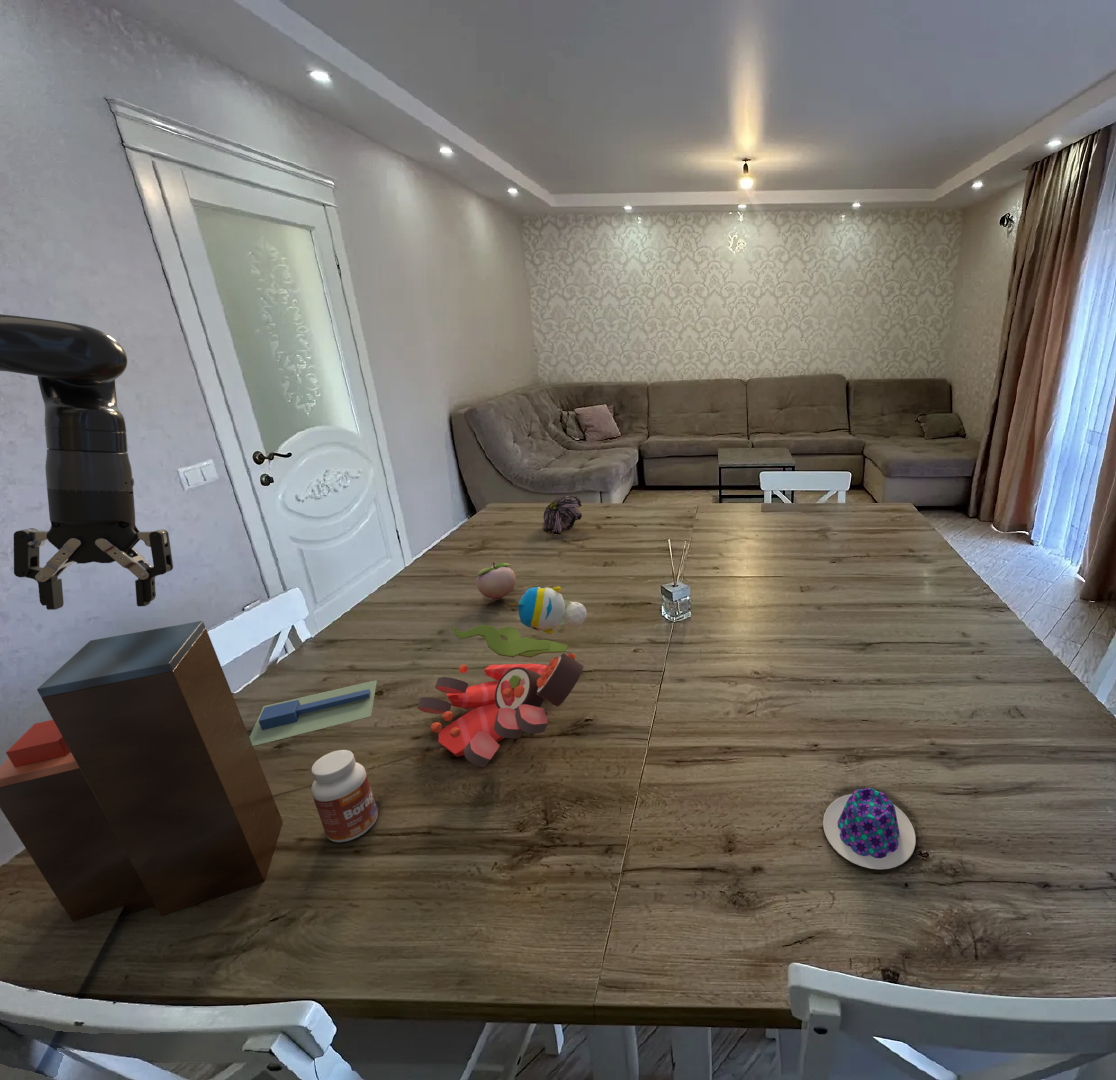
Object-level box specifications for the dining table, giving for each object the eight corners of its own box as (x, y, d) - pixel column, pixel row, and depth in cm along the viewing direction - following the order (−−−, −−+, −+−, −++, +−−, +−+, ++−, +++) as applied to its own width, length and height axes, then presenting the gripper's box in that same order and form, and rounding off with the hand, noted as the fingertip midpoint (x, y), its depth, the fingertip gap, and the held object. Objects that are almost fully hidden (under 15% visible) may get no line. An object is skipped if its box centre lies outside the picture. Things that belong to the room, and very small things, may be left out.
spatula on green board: (244, 750, 92) (244, 748, 92) (264, 707, 102) (263, 706, 102) (371, 718, 99) (370, 716, 99) (377, 681, 109) (376, 679, 109)
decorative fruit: (495, 611, 135) (489, 573, 131) (474, 603, 139) (466, 566, 135) (526, 595, 142) (521, 559, 139) (505, 588, 146) (499, 553, 143)
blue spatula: (267, 716, 99) (264, 707, 98) (371, 691, 105) (369, 682, 104) (261, 730, 96) (258, 720, 95) (369, 704, 102) (367, 694, 101)
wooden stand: (67, 947, 63) (-86, 713, 51) (111, 873, 71) (-12, 658, 60) (264, 881, 70) (169, 663, 58) (283, 821, 78) (203, 620, 67)
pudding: (832, 788, 83) (834, 759, 81) (917, 811, 78) (922, 782, 77) (814, 855, 72) (816, 825, 70) (911, 886, 68) (916, 855, 66)
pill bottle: (356, 847, 74) (334, 782, 70) (315, 841, 75) (291, 777, 71) (389, 809, 80) (370, 747, 76) (350, 804, 81) (330, 743, 77)
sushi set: (585, 776, 87) (409, 774, 75) (542, 739, 112) (406, 733, 101) (615, 592, 92) (456, 565, 81) (568, 598, 118) (442, 577, 107)
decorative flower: (528, 499, 186) (570, 481, 190) (540, 525, 194) (580, 507, 198) (540, 523, 176) (584, 503, 181) (552, 549, 184) (594, 529, 189)
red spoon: (14, 767, 58) (5, 752, 58) (93, 684, 72) (86, 671, 71) (66, 755, 60) (58, 740, 59) (134, 676, 73) (128, 663, 73)
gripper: (-10, 485, 67) (4, 617, 69) (152, 490, 73) (160, 610, 75) (30, 481, 73) (41, 602, 75) (175, 486, 80) (182, 597, 82)
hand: (101, 606), depth 75 cm, fingers open, 8 cm apart
